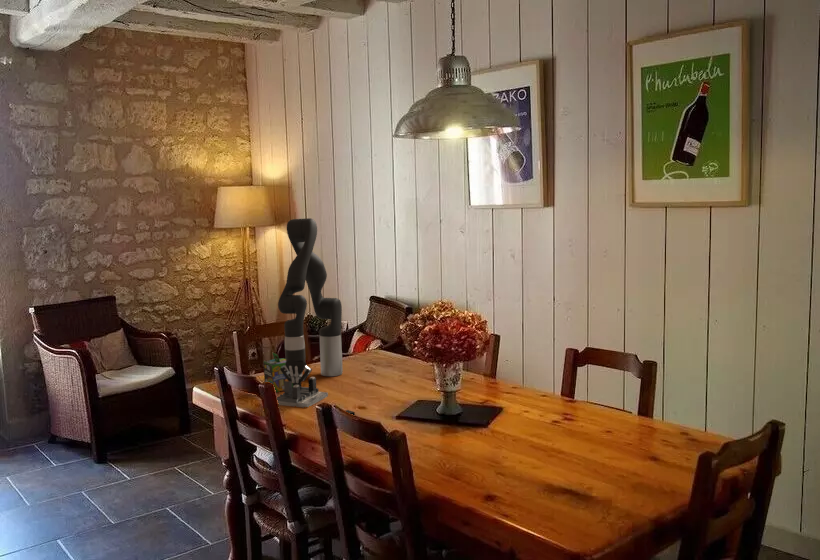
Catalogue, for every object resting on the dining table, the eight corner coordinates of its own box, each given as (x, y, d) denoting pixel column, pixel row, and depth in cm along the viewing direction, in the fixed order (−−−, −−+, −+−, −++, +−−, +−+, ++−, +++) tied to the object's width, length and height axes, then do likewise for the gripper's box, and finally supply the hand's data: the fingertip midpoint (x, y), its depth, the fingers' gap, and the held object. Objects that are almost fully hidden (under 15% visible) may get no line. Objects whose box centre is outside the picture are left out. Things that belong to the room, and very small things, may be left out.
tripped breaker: (287, 393, 286) (287, 378, 285) (292, 394, 285) (291, 378, 284) (284, 395, 284) (283, 379, 283) (289, 395, 283) (288, 380, 282)
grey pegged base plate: (294, 392, 293) (293, 374, 292) (328, 396, 287) (327, 377, 286) (271, 404, 278) (270, 384, 277) (306, 408, 272) (306, 388, 271)
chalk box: (294, 389, 298) (293, 353, 296) (273, 393, 293) (271, 356, 291) (284, 384, 306) (283, 349, 304) (264, 388, 301) (262, 352, 299)
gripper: (315, 346, 282) (317, 390, 284) (284, 344, 287) (287, 388, 289) (305, 350, 275) (307, 395, 277) (274, 348, 280) (277, 393, 282)
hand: (297, 392), depth 283 cm, fingers closed
